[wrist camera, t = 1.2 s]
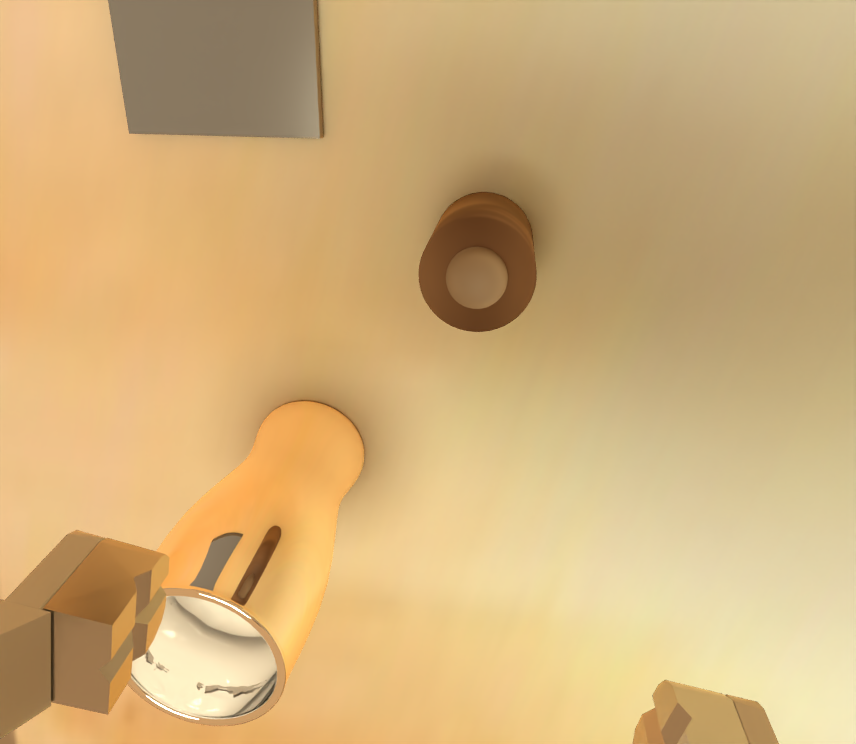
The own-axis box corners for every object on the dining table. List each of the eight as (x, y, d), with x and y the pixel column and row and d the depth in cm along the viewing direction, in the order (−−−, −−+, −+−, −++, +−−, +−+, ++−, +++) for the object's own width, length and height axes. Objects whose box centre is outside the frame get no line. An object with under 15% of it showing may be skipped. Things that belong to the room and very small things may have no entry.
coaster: (312, -100, 27) (308, -104, 26) (323, 137, 31) (319, 138, 30) (100, -98, 28) (92, -101, 27) (135, 132, 32) (129, 133, 31)
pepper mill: (536, 193, 31) (542, 227, 24) (528, 291, 32) (532, 347, 26) (436, 190, 31) (414, 222, 24) (434, 286, 33) (413, 340, 26)
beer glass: (256, 379, 36) (100, 564, 23) (382, 408, 36) (301, 612, 22) (246, 485, 39) (102, 706, 25) (362, 512, 39) (281, 749, 25)
